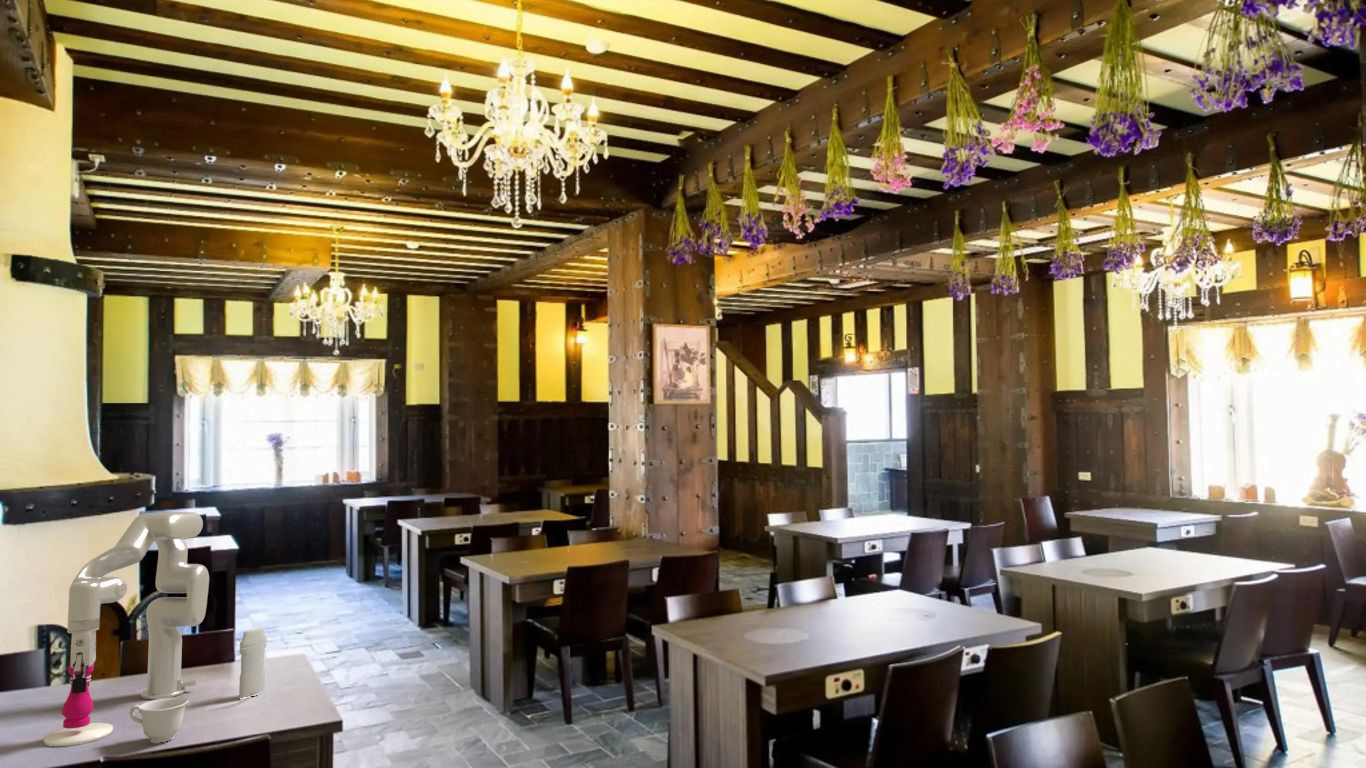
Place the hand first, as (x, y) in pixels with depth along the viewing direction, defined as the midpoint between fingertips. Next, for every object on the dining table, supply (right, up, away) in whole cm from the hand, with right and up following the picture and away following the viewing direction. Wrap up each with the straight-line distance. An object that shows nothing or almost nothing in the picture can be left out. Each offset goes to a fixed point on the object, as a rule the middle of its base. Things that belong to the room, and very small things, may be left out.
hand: (80, 689), depth 240 cm
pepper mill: (-1, -10, -1) cm, 10 cm away
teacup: (+24, -13, -4) cm, 28 cm away
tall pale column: (+30, -16, +37) cm, 50 cm away
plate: (0, -13, -1) cm, 13 cm away
